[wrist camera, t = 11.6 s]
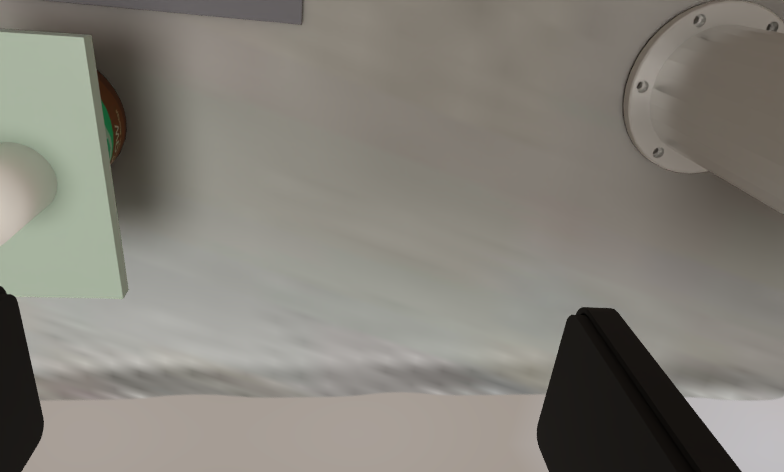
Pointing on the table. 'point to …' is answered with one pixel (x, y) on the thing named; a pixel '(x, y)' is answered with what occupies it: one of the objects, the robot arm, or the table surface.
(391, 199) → the table surface
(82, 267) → the lid
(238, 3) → the mat
